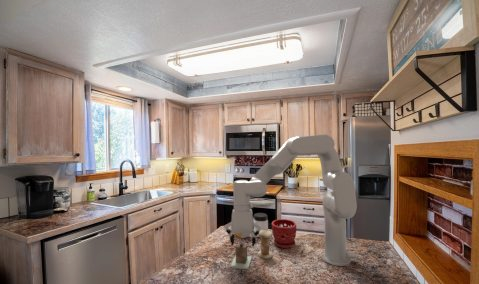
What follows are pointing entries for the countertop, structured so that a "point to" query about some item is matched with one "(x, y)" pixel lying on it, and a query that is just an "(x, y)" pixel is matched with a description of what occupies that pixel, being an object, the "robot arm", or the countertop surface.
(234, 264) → the board
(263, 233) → the cream drawer knob
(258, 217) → the jar
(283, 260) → the countertop surface
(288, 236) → the plant pot
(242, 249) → the block
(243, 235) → the small box
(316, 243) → the countertop surface
